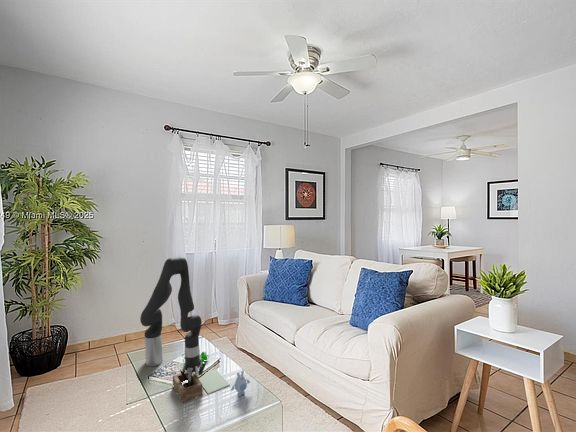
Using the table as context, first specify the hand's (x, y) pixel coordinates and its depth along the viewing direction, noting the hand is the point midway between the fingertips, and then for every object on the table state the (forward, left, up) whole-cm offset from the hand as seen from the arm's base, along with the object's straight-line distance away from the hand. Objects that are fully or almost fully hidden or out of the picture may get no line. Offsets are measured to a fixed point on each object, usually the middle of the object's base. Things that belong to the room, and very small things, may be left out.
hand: (193, 384), depth 168 cm
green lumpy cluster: (-21, +9, -1) cm, 23 cm away
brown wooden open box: (+3, -4, -1) cm, 5 cm away
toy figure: (+22, +17, -1) cm, 28 cm away
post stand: (+7, -4, -1) cm, 8 cm away
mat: (+3, +9, -1) cm, 10 cm away
